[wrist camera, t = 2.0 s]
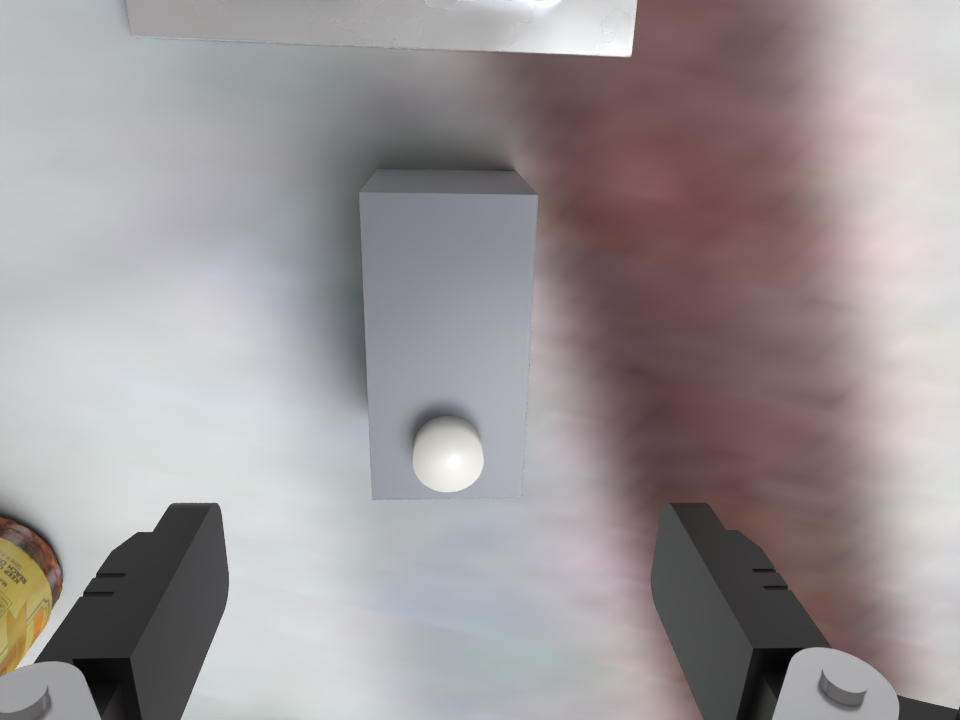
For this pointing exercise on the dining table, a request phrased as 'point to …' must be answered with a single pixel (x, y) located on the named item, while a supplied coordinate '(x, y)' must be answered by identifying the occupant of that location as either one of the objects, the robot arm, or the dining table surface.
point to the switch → (400, 24)
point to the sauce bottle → (24, 590)
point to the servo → (447, 330)
